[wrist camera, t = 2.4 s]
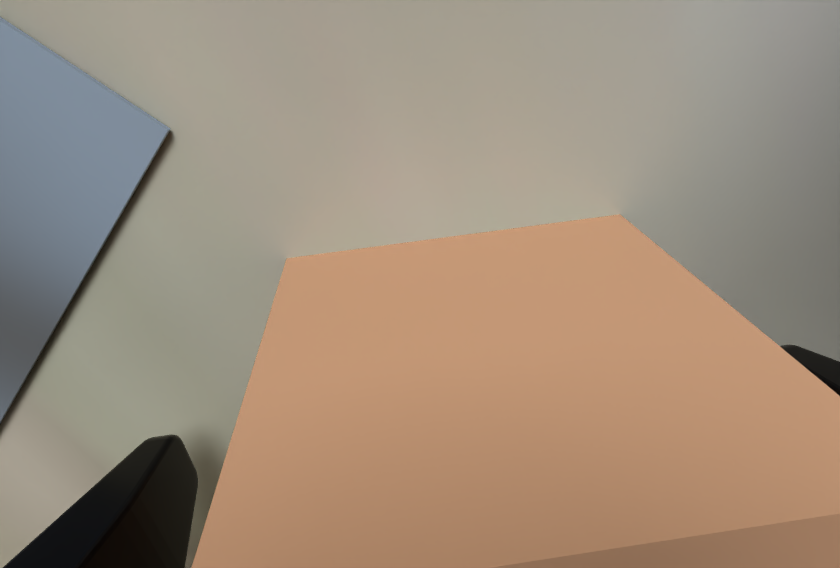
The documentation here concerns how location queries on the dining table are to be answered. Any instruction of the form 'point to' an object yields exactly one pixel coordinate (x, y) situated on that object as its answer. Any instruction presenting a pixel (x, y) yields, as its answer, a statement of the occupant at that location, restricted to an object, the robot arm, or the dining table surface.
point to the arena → (56, 189)
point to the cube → (522, 416)
